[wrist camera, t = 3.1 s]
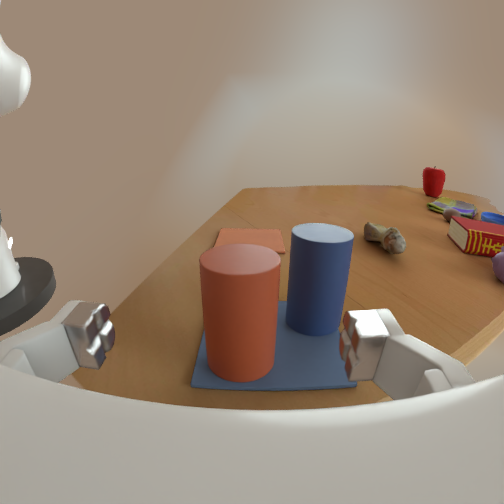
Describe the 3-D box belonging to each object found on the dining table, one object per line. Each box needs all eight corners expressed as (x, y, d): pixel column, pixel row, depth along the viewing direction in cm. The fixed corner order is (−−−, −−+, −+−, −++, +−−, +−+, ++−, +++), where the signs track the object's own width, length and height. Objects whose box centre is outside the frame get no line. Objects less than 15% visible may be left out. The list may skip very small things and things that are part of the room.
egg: (448, 218, 79) (450, 205, 78) (462, 224, 74) (465, 211, 72) (438, 219, 77) (440, 205, 76) (453, 225, 72) (455, 211, 71)
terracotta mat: (213, 252, 51) (212, 249, 51) (221, 230, 62) (221, 228, 62) (284, 253, 51) (285, 251, 51) (280, 231, 62) (280, 229, 62)
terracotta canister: (203, 380, 24) (192, 274, 20) (211, 338, 29) (206, 242, 26) (275, 383, 24) (283, 276, 20) (272, 339, 29) (278, 243, 25)
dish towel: (423, 209, 88) (424, 200, 87) (439, 201, 104) (439, 195, 103) (470, 222, 76) (472, 214, 75) (477, 212, 92) (478, 205, 91)
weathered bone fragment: (356, 223, 61) (380, 236, 46) (378, 213, 60) (408, 224, 46) (363, 245, 62) (389, 265, 47) (385, 236, 61) (416, 252, 47)
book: (464, 254, 52) (469, 231, 50) (447, 235, 63) (450, 215, 61) (524, 263, 47) (529, 242, 45) (502, 244, 59) (506, 226, 57)
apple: (444, 197, 115) (447, 167, 110) (440, 199, 108) (444, 168, 103) (423, 192, 122) (426, 163, 117) (418, 194, 115) (421, 163, 110)
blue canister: (287, 336, 30) (295, 242, 26) (283, 305, 35) (288, 222, 31) (345, 335, 30) (362, 243, 26) (333, 305, 35) (344, 223, 31)
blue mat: (190, 387, 23) (190, 384, 23) (211, 302, 36) (211, 299, 36) (356, 386, 23) (357, 383, 23) (327, 303, 36) (328, 301, 36)
